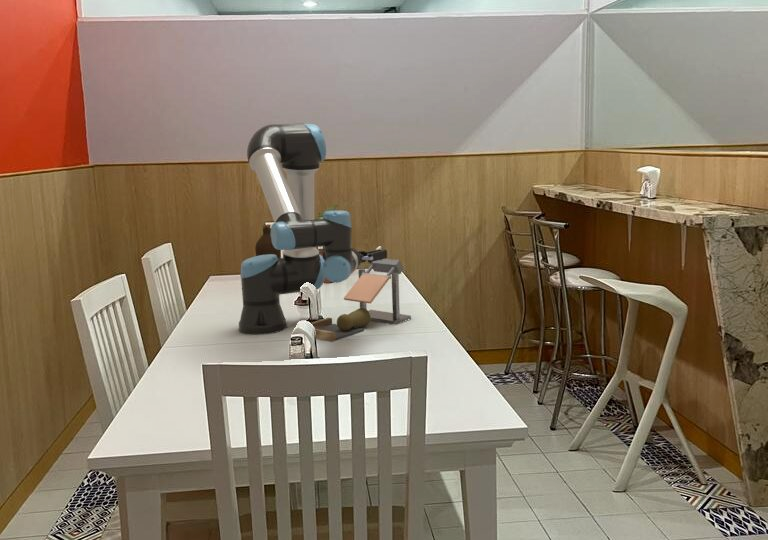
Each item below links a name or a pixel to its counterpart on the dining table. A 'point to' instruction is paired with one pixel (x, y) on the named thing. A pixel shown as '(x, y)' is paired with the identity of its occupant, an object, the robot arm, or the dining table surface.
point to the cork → (354, 319)
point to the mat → (339, 332)
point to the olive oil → (266, 244)
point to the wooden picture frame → (322, 333)
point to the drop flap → (373, 280)
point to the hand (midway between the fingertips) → (359, 250)
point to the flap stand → (395, 316)
